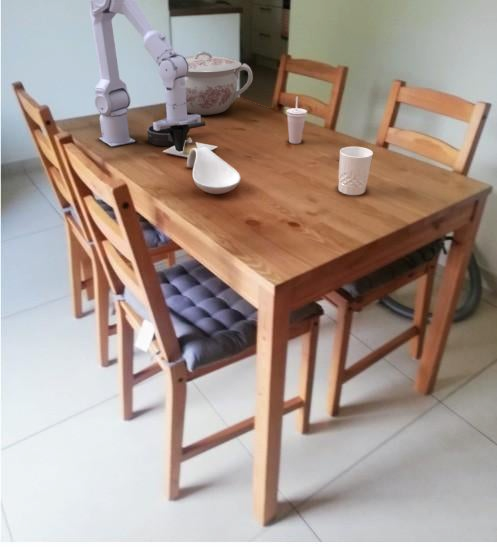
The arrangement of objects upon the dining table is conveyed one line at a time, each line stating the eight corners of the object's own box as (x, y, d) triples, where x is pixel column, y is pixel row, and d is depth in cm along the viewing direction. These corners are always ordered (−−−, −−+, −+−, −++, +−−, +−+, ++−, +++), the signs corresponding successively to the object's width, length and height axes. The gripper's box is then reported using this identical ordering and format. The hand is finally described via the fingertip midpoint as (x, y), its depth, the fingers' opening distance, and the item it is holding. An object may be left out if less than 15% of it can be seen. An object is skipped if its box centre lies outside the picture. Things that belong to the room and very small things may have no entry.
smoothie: (282, 143, 155) (284, 97, 148) (288, 137, 160) (290, 92, 153) (301, 146, 153) (304, 99, 146) (307, 140, 158) (310, 94, 151)
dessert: (185, 143, 154) (184, 128, 152) (218, 150, 150) (217, 134, 147) (162, 155, 146) (160, 139, 143) (196, 162, 141) (195, 145, 138)
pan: (141, 139, 158) (140, 127, 155) (175, 132, 164) (174, 120, 162) (160, 149, 149) (159, 136, 147) (194, 142, 156) (194, 129, 154)
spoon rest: (248, 195, 122) (248, 167, 118) (203, 203, 118) (201, 174, 114) (213, 163, 140) (212, 138, 136) (173, 169, 136) (171, 144, 132)
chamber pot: (153, 112, 184) (147, 52, 172) (200, 98, 203) (197, 43, 191) (212, 125, 170) (210, 61, 159) (256, 109, 189) (257, 50, 178)
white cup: (360, 199, 120) (366, 159, 115) (330, 192, 124) (334, 153, 118) (371, 188, 126) (377, 150, 121) (343, 181, 129) (347, 144, 124)
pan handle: (182, 129, 159) (181, 124, 158) (202, 125, 163) (202, 120, 162) (184, 130, 158) (184, 125, 157) (205, 126, 162) (205, 121, 161)
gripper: (160, 110, 131) (164, 159, 139) (205, 102, 139) (207, 149, 146) (147, 104, 136) (152, 152, 143) (192, 97, 143) (194, 142, 151)
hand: (179, 150), depth 145 cm, fingers closed
